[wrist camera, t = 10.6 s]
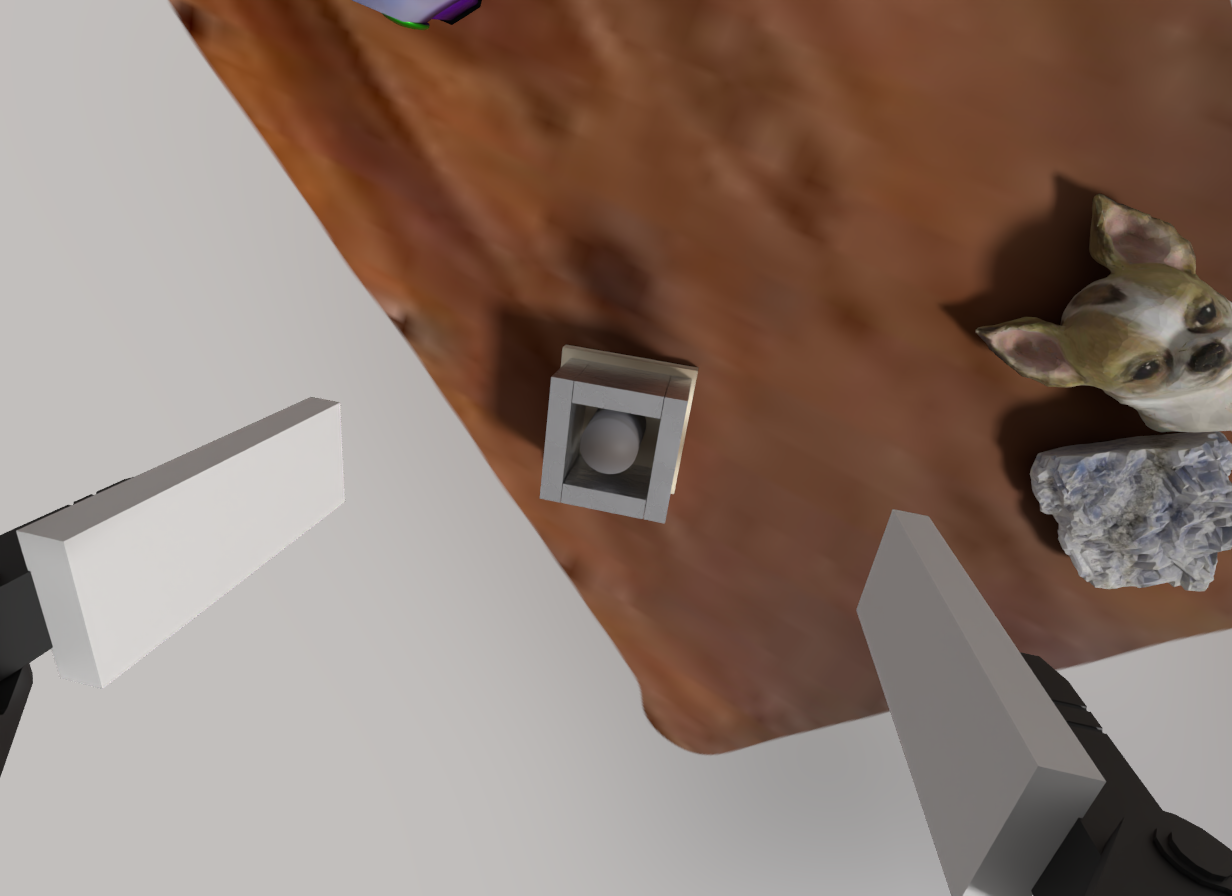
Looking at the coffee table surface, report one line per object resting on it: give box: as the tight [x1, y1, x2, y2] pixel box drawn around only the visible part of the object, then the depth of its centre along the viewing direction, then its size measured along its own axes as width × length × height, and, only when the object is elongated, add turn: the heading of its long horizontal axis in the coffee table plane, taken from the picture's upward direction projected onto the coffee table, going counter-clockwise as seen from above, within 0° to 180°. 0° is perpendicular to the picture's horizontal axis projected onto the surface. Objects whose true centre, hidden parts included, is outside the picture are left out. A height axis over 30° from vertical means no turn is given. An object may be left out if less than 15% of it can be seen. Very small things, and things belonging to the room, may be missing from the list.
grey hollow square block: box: [540, 358, 692, 523], centre depth 43 cm, size 9×9×6 cm
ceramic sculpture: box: [975, 194, 1232, 432], centre depth 35 cm, size 11×9×15 cm
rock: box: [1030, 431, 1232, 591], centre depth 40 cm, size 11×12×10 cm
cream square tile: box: [561, 345, 698, 494], centre depth 43 cm, size 10×10×6 cm
